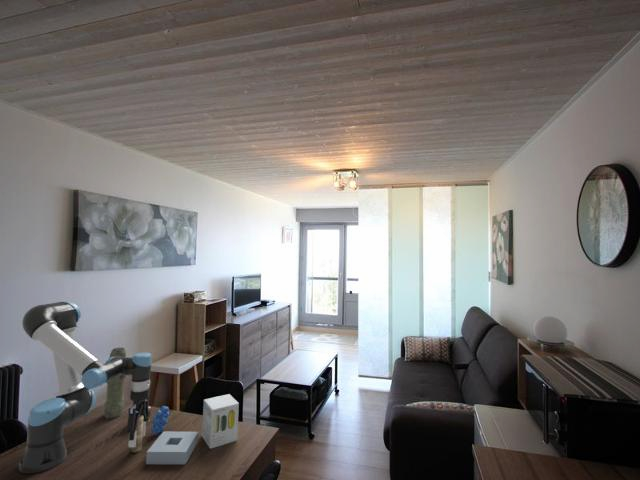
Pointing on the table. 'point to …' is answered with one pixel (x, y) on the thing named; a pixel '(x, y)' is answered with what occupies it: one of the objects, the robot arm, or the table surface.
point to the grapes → (160, 420)
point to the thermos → (115, 391)
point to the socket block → (172, 448)
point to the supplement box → (220, 420)
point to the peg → (138, 435)
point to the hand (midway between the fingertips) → (136, 441)
